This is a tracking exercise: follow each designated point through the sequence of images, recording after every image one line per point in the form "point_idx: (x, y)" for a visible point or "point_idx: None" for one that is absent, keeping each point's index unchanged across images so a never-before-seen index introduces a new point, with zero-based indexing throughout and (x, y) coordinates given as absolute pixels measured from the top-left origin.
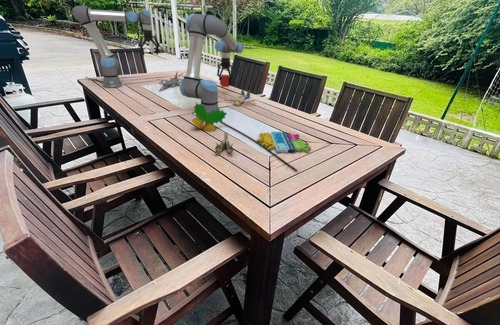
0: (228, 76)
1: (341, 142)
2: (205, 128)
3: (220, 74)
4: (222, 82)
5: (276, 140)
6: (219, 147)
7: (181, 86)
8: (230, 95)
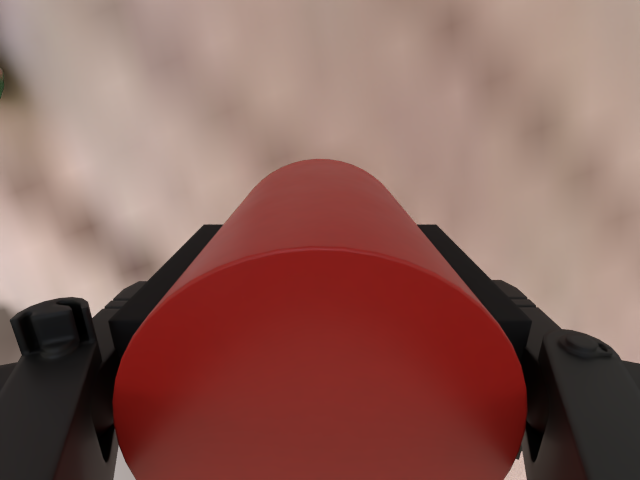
0: (138, 338)
1: None
2: None
3: (599, 408)
4: (385, 194)
5: None
6: None
7: None
8: (217, 129)
